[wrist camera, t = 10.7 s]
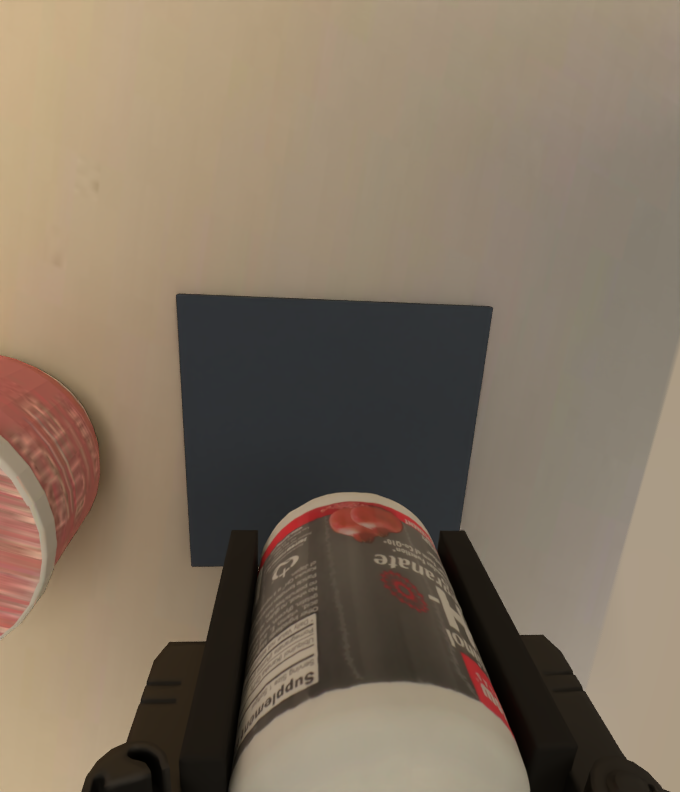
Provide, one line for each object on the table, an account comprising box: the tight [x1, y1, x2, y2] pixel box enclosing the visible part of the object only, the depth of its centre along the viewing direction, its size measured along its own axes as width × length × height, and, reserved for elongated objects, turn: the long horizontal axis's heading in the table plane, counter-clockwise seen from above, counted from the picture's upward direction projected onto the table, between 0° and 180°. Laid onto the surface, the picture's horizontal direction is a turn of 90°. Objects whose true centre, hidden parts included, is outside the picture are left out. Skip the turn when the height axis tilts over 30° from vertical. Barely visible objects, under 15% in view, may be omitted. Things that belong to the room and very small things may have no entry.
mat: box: [176, 294, 493, 567], centre depth 24 cm, size 14×14×1 cm
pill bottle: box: [228, 492, 530, 792], centre depth 11 cm, size 5×5×10 cm
